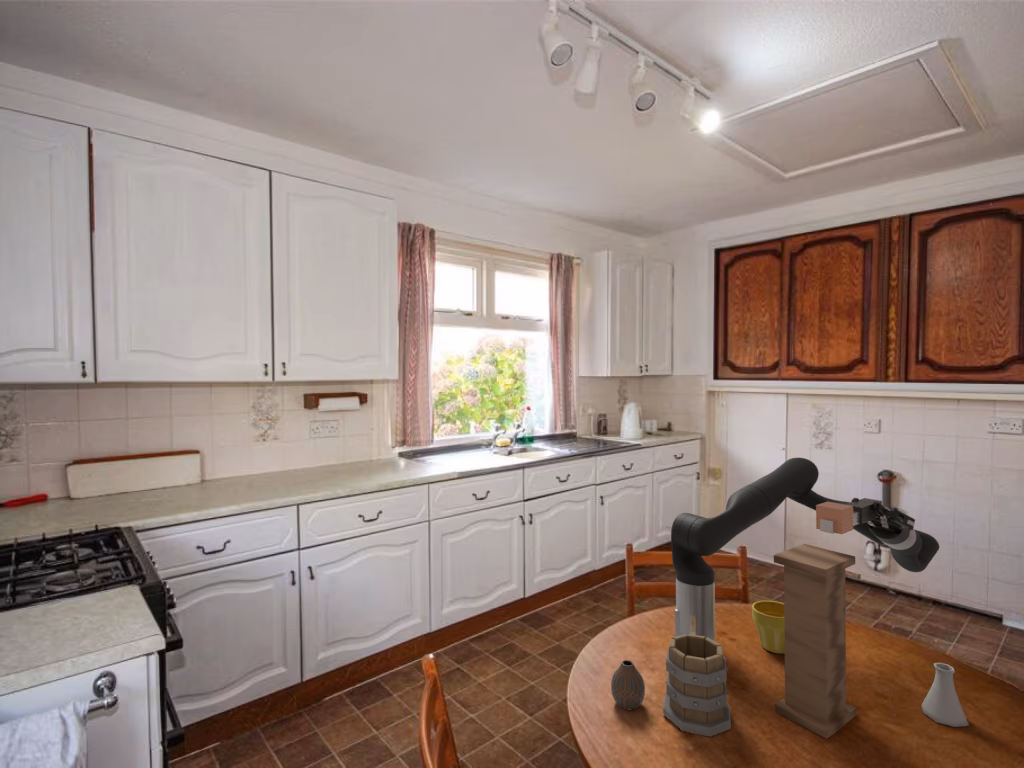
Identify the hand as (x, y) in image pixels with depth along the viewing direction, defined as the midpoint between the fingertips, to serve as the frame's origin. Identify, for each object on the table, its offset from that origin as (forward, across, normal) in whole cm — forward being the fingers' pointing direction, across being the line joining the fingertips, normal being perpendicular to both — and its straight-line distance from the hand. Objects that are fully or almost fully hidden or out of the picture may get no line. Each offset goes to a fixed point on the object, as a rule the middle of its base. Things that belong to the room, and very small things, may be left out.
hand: (864, 503), depth 118 cm
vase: (+25, -24, +59) cm, 69 cm away
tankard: (+14, -16, +54) cm, 58 cm away
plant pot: (-16, -19, +36) cm, 44 cm away
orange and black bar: (+4, 0, +6) cm, 7 cm away
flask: (-17, +15, +36) cm, 42 cm away
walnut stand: (0, 0, +45) cm, 45 cm away
